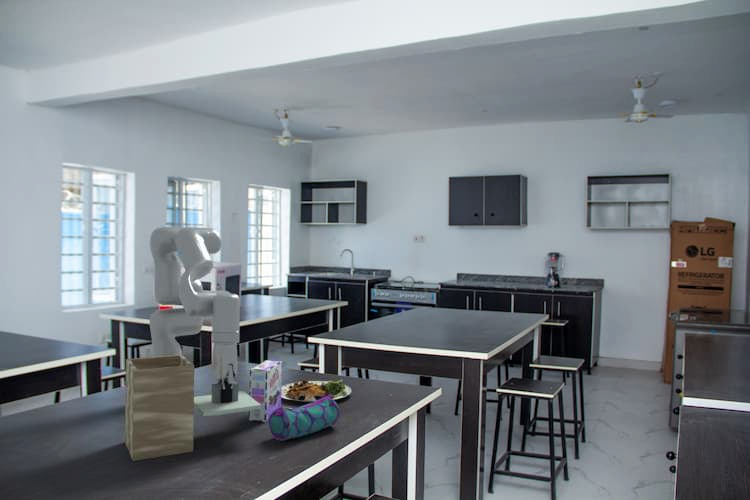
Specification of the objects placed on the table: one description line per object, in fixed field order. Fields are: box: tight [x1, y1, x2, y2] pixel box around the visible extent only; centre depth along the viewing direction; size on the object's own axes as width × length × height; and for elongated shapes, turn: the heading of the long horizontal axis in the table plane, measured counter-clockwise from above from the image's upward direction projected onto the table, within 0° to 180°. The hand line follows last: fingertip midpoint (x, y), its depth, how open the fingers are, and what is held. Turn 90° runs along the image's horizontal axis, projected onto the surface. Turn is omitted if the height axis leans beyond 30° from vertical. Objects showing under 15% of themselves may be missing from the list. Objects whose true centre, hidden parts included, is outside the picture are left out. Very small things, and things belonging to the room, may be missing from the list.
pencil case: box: [268, 394, 340, 442], centre depth 173 cm, size 21×9×10 cm, turn 138°
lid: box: [194, 381, 261, 417], centre depth 168 cm, size 16×16×7 cm
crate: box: [124, 354, 195, 462], centre depth 159 cm, size 15×15×23 cm
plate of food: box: [281, 378, 352, 403], centre depth 213 cm, size 28×28×6 cm
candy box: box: [248, 359, 283, 423], centre depth 188 cm, size 14×6×16 cm, turn 168°
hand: (224, 400), depth 168 cm, fingers closed on lid, 2 cm apart
